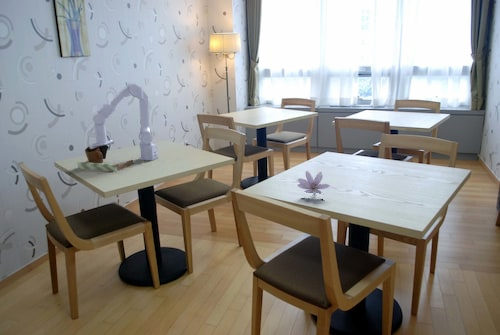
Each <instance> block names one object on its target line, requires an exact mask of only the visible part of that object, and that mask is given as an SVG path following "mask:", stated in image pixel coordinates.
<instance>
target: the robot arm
mask: <svg viewBox="0 0 500 335" xmlns="http://www.w3.org/2000/svg"><path fill="white" fill-rule="evenodd" d="M130 96H134V97H135V98H136V99H138V101H139V103H138V104H139V118H140V119H139V120H140V122H139V123H140V129H139V131H140V132H139V133H138V138H139V141H140V142H139V149H140V157H139V158H137V160H140V161H141V160H142V161H154V160H156V159H159V158H160V156H159V153H158V146H157V144H154V143H153V136H152V135H151V130H150V116H149V111H150V110H149V97H148V95H147V93H146V92H145V91H144V89H143V87H141V86H140V85H139V84H137V83H135V82H130V83H128V84H127V85H126V86H124V88H122V89H121V90H120V91H119V92H118V93H117V95H116V96H115V97H114V98H113V99H112V100H111V101H110V102H106V103H103V104H102V107H101V108H100V109H99V110H97V111H96V113H94V115H93V117H92V121H93V126H94V136H95V143H92V144H89V146H90V149H93V148H97V146H98V147H99V149H100V152H101V153H102V155H103V160H106V159H107V158H106V157H107V152H108V149H109V146H110V145H115V140H114V139H110V140H108V138H107V129H106V124H105V122H106V119H108V118H109V117H110V116H111V115H112V114H113V112H115V110H116V109H115V108H116V106H117V105H118V104H120V103H121V101H122V100H124V98H126V97H130ZM89 146H88V147H89Z"/></svg>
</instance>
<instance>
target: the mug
mask: <svg viewBox="0 0 500 335" xmlns="http://www.w3.org/2000/svg"><path fill="white" fill-rule="evenodd" d="M84 153H85V156H86V159H87V161H89V162H90V163H102V164H104V163H103V162H104V159H103V155H102V153H101V152H100V149H99V147H98V146H97V148H93V149H90V146H87V147H86V148H85V149H84Z"/></svg>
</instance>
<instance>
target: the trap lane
mask: <svg viewBox="0 0 500 335" xmlns="http://www.w3.org/2000/svg"><path fill="white" fill-rule="evenodd" d="M76 164H77V169H80V170H81V169H83V170H94V171H105V172H118V171H120V170H122V169H125V168H126V167H129V166H130V165H133V164H134V160H133V159H130V160H128V161H126V162H124V163H122V164H115V163H114V164H111V163H110V164H109V163H90V162H89V161H88V160H87V161H77V163H76Z"/></svg>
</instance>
